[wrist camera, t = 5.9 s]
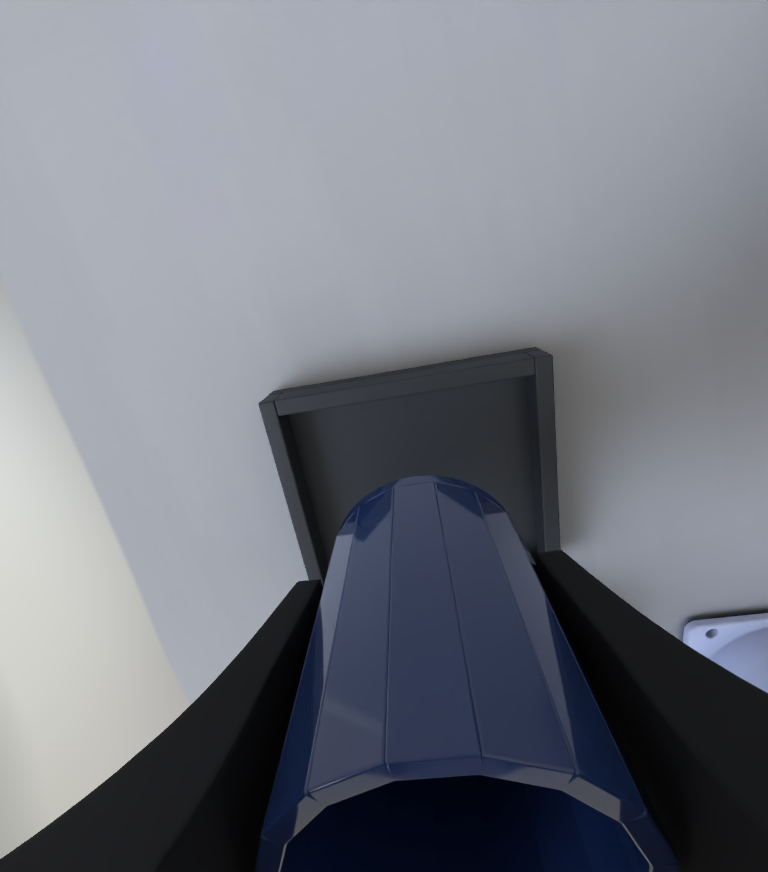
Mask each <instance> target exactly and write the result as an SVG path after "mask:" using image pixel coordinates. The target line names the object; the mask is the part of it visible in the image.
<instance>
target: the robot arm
mask: <svg viewBox="0 0 768 872" xmlns="http://www.w3.org/2000/svg"><path fill="white" fill-rule="evenodd" d="M535 558H536V566H537V568H538V571H539V573H540V575H541V577H542V579H543V581H544V583H545V585H546V587H547V589H548V591H549V593H550V595H551V597H552V599H553V601H554V603H555V605H556V607H557V609H558V611H559V613H560V615H561V617H562V619H563V621H564V623H565V625H566V628H567V630H568V632H569V634H570V636H571V638H572V640H573V642H574V644H575V646H576V648H577V650H578V652H579V654H580V656H581V658H582V660H583V662H584V664H585V667H586V669H587V671H588V673H589V675H590V677H591V679H592V681H593V683H594V685H595V687H596V689H597V691H598V693H599V695H600V697H601V699H602V701H603V703H604V706H605V708H606V710H607V712H608V714H609V716H610V718H611V720H612V722H613V724H614V726H615V728H616V730H617V732H618V734H619V736H620V738H621V740H622V742H623V745H624V747H625V749H626V751H627V753H628V755H629V757H630V759H631V761H632V763H633V765H634V767H635V769H636V771H637V773H638V775H639V777H640V779H641V781H642V784H643V786H644V788H645V790H646V792H647V794H648V796H649V798H650V800H651V802H652V804H653V806H654V808H655V810H656V812H657V814H658V816H659V818H660V820H661V822H662V825H663V827H664V829H665V831H666V833H667V835H668V837H669V839H670V841H671V843H672V845H673V847H674V849H675V851H676V853H677V855H678V859H679V871H678V872H768V613H761V614H752V615H742V616H732V617H722V618H713V619H703V620H694V621H691V622H689V623H687V624H686V626H685V627H684V632H683V642H682V641H680V640H679V639H677V638H676V637H674V636H673V635H671V634H670V633H668V632H667V631H665V630H664V629H662V628H661V627H660V626H658V625H657V624H655V623H654V622H652V621H651V620H650V619H648V618H647V617H645V616H644V615H643V614H641V613H640V612H639V611H637V610H636V609H635V608H633V607H632V606H631V605H629V604H628V603H627V602H625V601H624V600H623V599H621V598H620V597H619V596H618V595H616V594H615V593H614V592H612V591H611V590H610V589H609V588H607V587H606V586H605V585H604V584H602V583H601V582H600V581H599V580H597V579H596V578H595V577H594V576H592V575H591V574H590V573H589V572H588V571H586V570H585V569H584V568H583V567H581V566H580V565H579V564H578V563H577V562H575V561H574V560H573V559H572V558H571V557H569V556H568V555H567V554H566V553H564V552H563V551H562V550H556V551H548V552H539V553H535ZM322 591H323V586H322V582H321V579H317V580H309V581H300V582H297V583H296V585H295V586H294V587H293V588H292V589H291V591H290V592H289V593H288V594H287V596H286V597H285V598H284V599H283V601H282V602H281V603H280V604H279V606H278V607H277V608H276V609H275V611H274V612H273V613H272V614H271V616H270V617H269V618H268V619H267V621H266V622H265V623H264V624H263V626H262V627H261V628H260V629H259V630H258V632H257V633H256V634H255V635H254V637H253V638H252V639H251V640H250V641H249V643H248V644H247V645H246V646H245V647H244V649H243V650H242V651H241V652H240V653H239V654H238V655H237V656H236V657H235V659H234V660H233V661H232V662H231V663H230V664H229V665H228V666H227V668H226V669H225V670H224V671H223V672H222V673H221V674H220V675H219V676H218V678H217V679H216V680H215V681H214V682H213V683H212V684H211V685H210V686H209V687H208V688H207V689H206V690H205V691H204V692H203V693H202V694H201V695H200V696H199V698H198V699H197V700H196V701H195V702H194V703H193V704H191V705H190V706H189V707H188V708H187V709H186V710H185V711H184V712H183V713H182V714H181V715H180V716H179V717H178V718H177V719H176V720H175V721H174V722H173V723H172V724H171V725H170V726H169V727H168V728H166V729H165V730H164V731H163V732H162V733H161V734H160V735H159V736H157V737H156V738H155V739H154V740H153V741H152V742H150V743H149V744H148V745H147V746H146V747H145V748H144V749H142V750H141V751H140V752H139V753H138V754H137V755H135V756H134V757H133V758H132V759H131V760H130V761H129V762H127V763H126V764H125V765H124V766H123V767H122V768H120V769H119V770H118V771H117V772H116V773H115V774H113V775H112V776H111V777H110V778H109V779H107V780H106V781H105V782H104V783H102V784H101V785H100V786H98V787H97V788H96V789H95V790H94V791H92V792H91V793H90V794H88V795H87V796H86V797H85V798H83V799H82V800H81V801H80V802H78V803H77V804H76V805H74V806H73V807H72V808H70V809H69V810H68V811H66V812H65V813H64V814H62V815H61V816H60V817H59V818H57V819H56V820H55V821H53V822H52V823H51V824H49V825H48V826H47V827H45V828H44V829H42V830H41V831H40V832H38V833H37V834H36V835H34V836H33V837H32V838H30V839H29V840H27V841H26V842H24V843H23V844H21V845H20V846H19V847H17V848H16V849H14V850H13V851H12V852H10V853H9V854H7V855H6V856H4V857H3V858H1V859H0V872H253V870H254V865H255V860H256V855H257V850H258V845H259V840H260V835H261V831H262V827H263V823H264V819H265V815H266V811H267V807H268V803H269V799H270V795H271V791H272V787H273V783H274V780H275V776H276V772H277V768H278V764H279V760H280V756H281V752H282V748H283V744H284V740H285V736H286V732H287V728H288V725H289V721H290V717H291V713H292V709H293V705H294V701H295V697H296V693H297V689H298V685H299V681H300V677H301V674H302V670H303V666H304V662H305V658H306V654H307V650H308V646H309V642H310V638H311V634H312V630H313V626H314V622H315V619H316V615H317V611H318V607H319V603H320V599H321V595H322Z"/></svg>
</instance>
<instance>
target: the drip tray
mask: <svg viewBox="0 0 768 872" xmlns="http://www.w3.org/2000/svg"><path fill="white" fill-rule="evenodd" d="M259 407H260V411H261V414H262V418H263V421H264V425H265V428H266V432H267V435H268V439H269V442H270V446H271V449H272V453H273V456H274V460H275V463H276V467H277V470H278V474H279V477H280V481H281V484H282V488H283V491H284V495H285V498H286V502H287V505H288V509H289V512H290V516H291V519H292V523H293V526H294V529H295V533H296V536H297V540H298V543H299V547H300V550H301V554H302V557H303V561H304V564H305V568H306V571H307V575H308V578H309V580H317V579H321V582H322V586H323V587H324V583H325V579H326V575H327V571H328V567H329V564H330V560H331V556H332V552H333V548H334V544H335V540H336V536H337V534H338V532H339V529H340V527H341V525H342V523H343V521H344V519H345V518H346V516H347V515H348V513H349V512H350V511H351V510H352V508H353V507H354V506H355V505H356V504H357V503H358V502H359V501H360V500H361V499H363V498H364V497H365V496H366V495H368V494H369V493H371V492H372V491H374V490H375V489H377V488H379V487H381V486H383V485H386V484H388V483H390V482H393V481H396V480H399V479H403V478H408V477H413V476H425V475H428V476H443V477H449V478H454V479H458V480H461V481H465V482H467V483H469V484H472V485H474V486H476V487H478V488H480V489H482V490H483V491H485V492H487V493H488V494H489V495H491V496H492V497H493V498H495V499H496V500H497V501H498V502H499V503H500V504H501V505H502V506H503V507H504V508H505V510H506V511H507V512H508V514H509V515H510V517H511V518H512V520H513V522H514V524H515V526H516V528H517V530H518V531H519V533H520V535H521V536H522V538H523V540H524V541H525V543H526V545H527V548H528V550H529V552H530V554H531V556H532V558H533V560H534V562H535V564H536V558H535V553H539V552H548V551H556V550H560V529H559V504H558V479H557V454H556V429H555V403H554V378H553V356H552V355H551V354H549V353H547V352H545V351H542V350H541V349H538V348H536V347H535V348H529V349H523V350H517V351H511V352H505V353H499V354H493V355H487V356H481V357H475V358H469V359H463V360H457V361H451V362H445V363H439V364H433V365H427V366H421V367H415V368H409V369H403V370H397V371H392V372H386V373H380V374H374V375H368V376H362V377H356V378H350V379H344V380H338V381H332V382H326V383H320V384H314V385H308V386H302V387H296V388H290V389H284V390H278V391H273V392H272V393H270V394H269V396H267V397H266V398H265V399H264V400H262V401H261V402H260V403H259Z"/></svg>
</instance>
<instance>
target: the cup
mask: <svg viewBox="0 0 768 872" xmlns="http://www.w3.org/2000/svg"><path fill="white" fill-rule="evenodd" d="M678 871H679V859H678V855H677V853H676V851H675V849H674V847H673V845H672V843H671V841H670V839H669V837H668V835H667V833H666V831H665V829H664V827H663V825H662V822H661V820H660V818H659V816H658V814H657V812H656V810H655V808H654V806H653V804H652V802H651V800H650V798H649V796H648V794H647V792H646V790H645V788H644V786H643V784H642V781H641V779H640V777H639V775H638V773H637V771H636V769H635V767H634V765H633V763H632V761H631V759H630V757H629V755H628V753H627V751H626V749H625V747H624V745H623V742H622V740H621V738H620V736H619V734H618V732H617V730H616V728H615V726H614V724H613V722H612V720H611V718H610V716H609V714H608V712H607V710H606V708H605V706H604V703H603V701H602V699H601V697H600V695H599V693H598V691H597V689H596V687H595V685H594V683H593V681H592V679H591V677H590V675H589V673H588V671H587V669H586V667H585V664H584V662H583V660H582V658H581V656H580V654H579V652H578V650H577V648H576V646H575V644H574V642H573V640H572V638H571V636H570V634H569V632H568V630H567V628H566V625H565V623H564V621H563V619H562V617H561V615H560V613H559V611H558V609H557V607H556V605H555V603H554V601H553V599H552V597H551V595H550V593H549V591H548V589H547V587H546V585H545V583H544V581H543V579H542V577H541V575H540V573H539V571H538V568H537V566H536V564H535V562H534V560H533V558H532V556H531V554H530V552H529V550H528V548H527V545H526V543H525V541H524V540H523V538H522V536H521V535H520V533H519V531H518V530H517V528H516V526H515V524H514V522H513V520H512V518H511V517H510V515H509V514H508V512H507V511H506V510H505V508H504V507H503V506H502V505H501V504H500V503H499V502H498V501H497V500H496V499H495V498H493V497H492V496H491V495H489V494H488V493H487V492H485V491H483V490H482V489H480V488H478V487H476V486H474V485H472V484H469V483H467V482H465V481H461V480H458V479H454V478H449V477H443V476H428V475H425V476H413V477H408V478H403V479H399V480H396V481H393V482H390V483H388V484H386V485H383V486H381V487H379V488H377V489H375V490H374V491H372V492H371V493H369V494H368V495H366V496H365V497H364V498H363V499H361V500H360V501H359V502H358V503H357V504H356V505H355V506H354V507H353V508H352V510H351V511H350V512H349V513H348V515H347V516H346V518H345V519H344V521H343V523H342V525H341V527H340V529H339V532H338V534H337V536H336V540H335V544H334V548H333V552H332V556H331V560H330V564H329V567H328V571H327V575H326V579H325V583H324V587H323V591H322V595H321V599H320V603H319V607H318V611H317V615H316V619H315V622H314V626H313V630H312V634H311V638H310V642H309V646H308V650H307V654H306V658H305V662H304V666H303V670H302V674H301V677H300V681H299V685H298V689H297V693H296V697H295V701H294V705H293V709H292V713H291V717H290V721H289V725H288V728H287V732H286V736H285V740H284V744H283V748H282V752H281V756H280V760H279V764H278V768H277V772H276V776H275V780H274V783H273V787H272V791H271V795H270V799H269V803H268V807H267V811H266V815H265V819H264V823H263V827H262V831H261V835H260V840H259V845H258V850H257V855H256V860H255V865H254V870H253V872H678Z"/></svg>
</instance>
